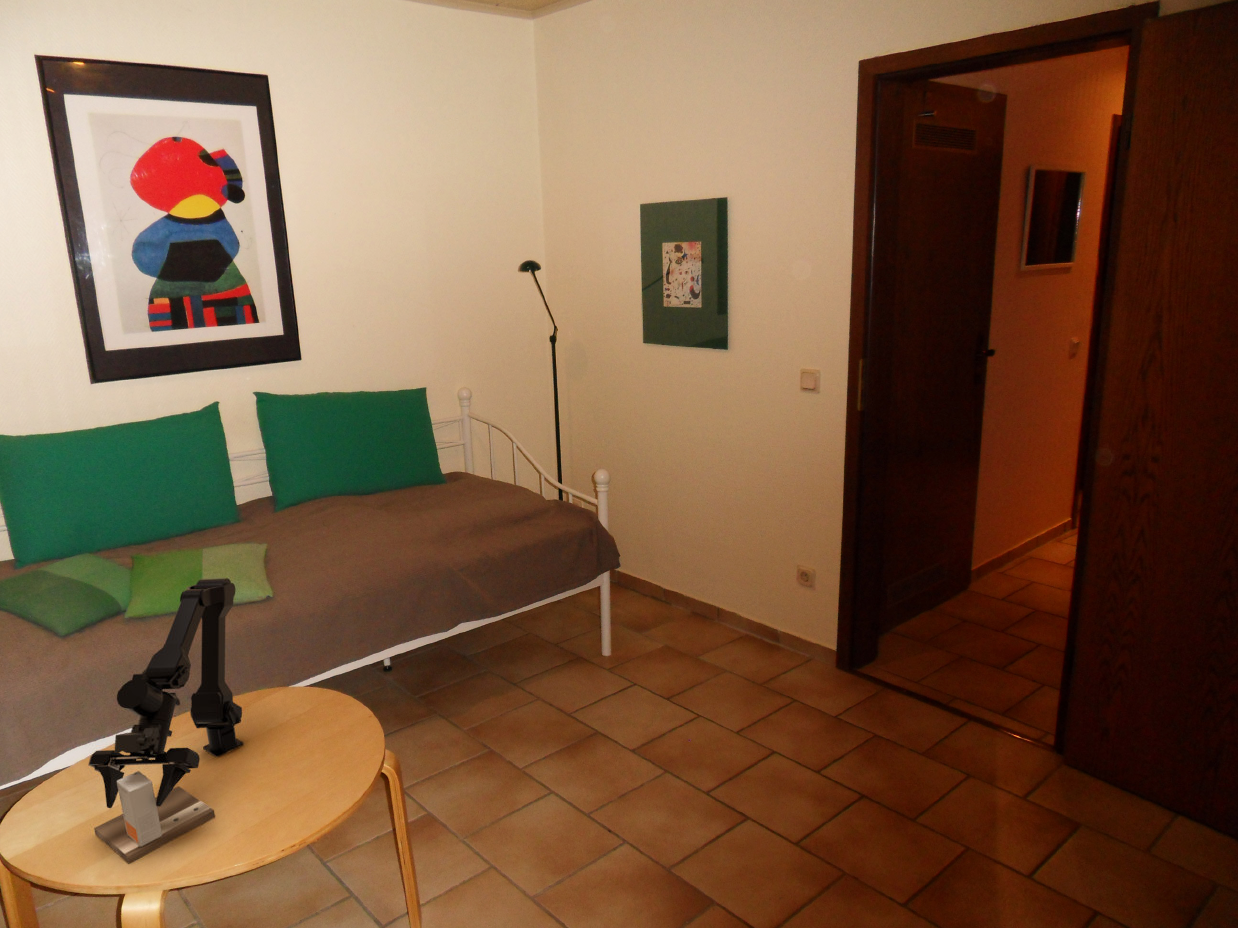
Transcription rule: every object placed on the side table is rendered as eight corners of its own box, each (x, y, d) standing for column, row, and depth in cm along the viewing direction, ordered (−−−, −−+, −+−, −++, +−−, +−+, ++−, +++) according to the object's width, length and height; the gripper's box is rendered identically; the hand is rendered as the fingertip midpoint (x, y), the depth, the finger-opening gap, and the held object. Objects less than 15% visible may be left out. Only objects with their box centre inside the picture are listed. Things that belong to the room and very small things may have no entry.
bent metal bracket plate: (95, 834, 167) (93, 826, 167) (179, 792, 180) (178, 784, 180) (129, 863, 159) (127, 855, 158) (215, 816, 171) (213, 809, 171)
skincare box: (126, 835, 164) (115, 780, 161) (149, 823, 167) (139, 769, 165) (139, 848, 160) (129, 791, 158) (163, 835, 164) (153, 780, 161)
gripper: (84, 713, 162) (58, 800, 154) (183, 709, 162) (162, 797, 154) (115, 728, 171) (93, 811, 163) (208, 725, 171) (190, 808, 163)
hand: (133, 806), depth 161 cm, fingers open, 9 cm apart
